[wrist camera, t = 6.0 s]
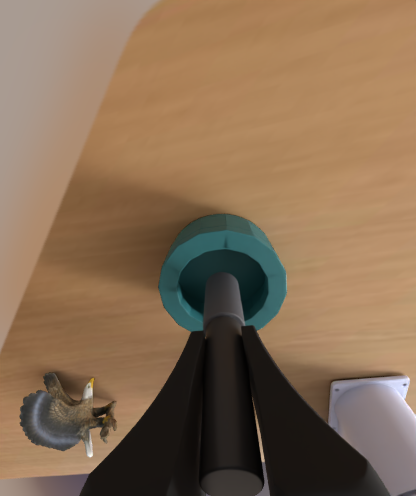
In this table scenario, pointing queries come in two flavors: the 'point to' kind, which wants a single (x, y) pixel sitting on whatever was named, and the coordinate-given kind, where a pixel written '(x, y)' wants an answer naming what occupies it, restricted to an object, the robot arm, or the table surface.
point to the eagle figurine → (64, 417)
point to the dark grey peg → (227, 398)
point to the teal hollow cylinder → (222, 270)
